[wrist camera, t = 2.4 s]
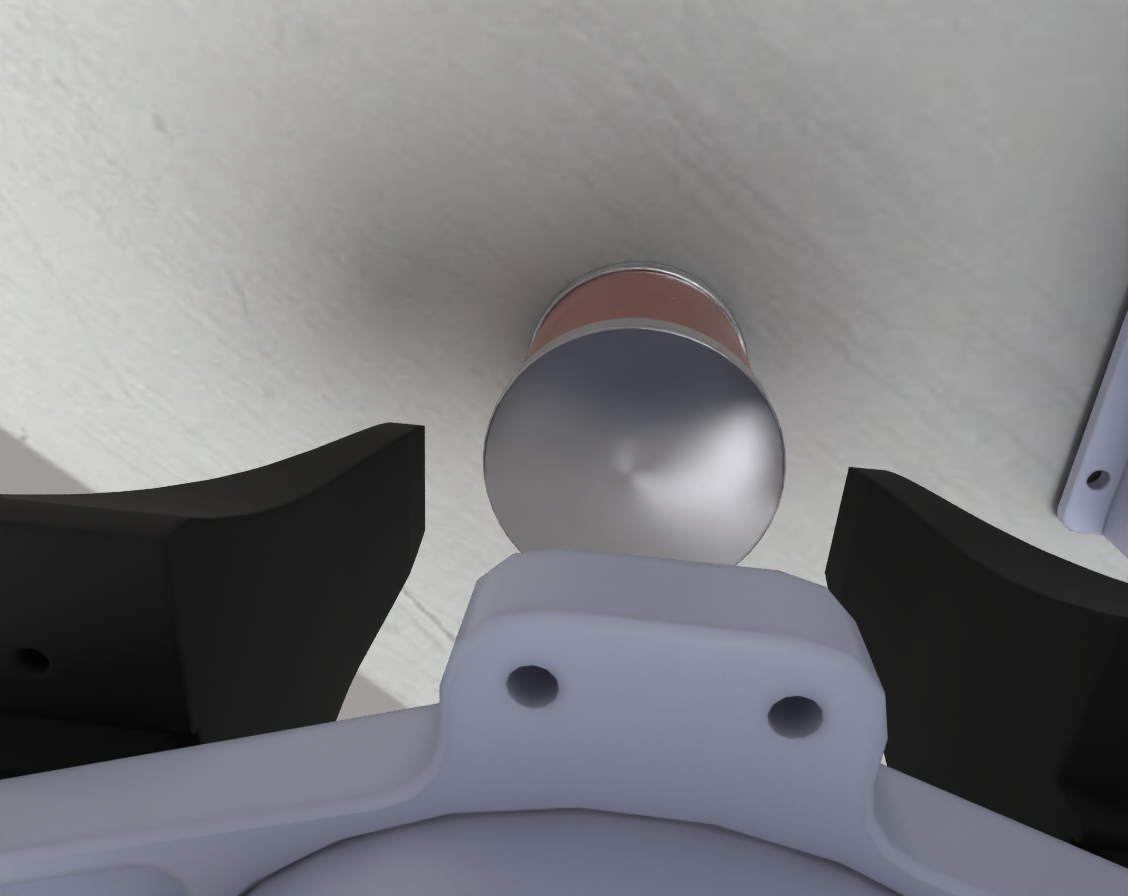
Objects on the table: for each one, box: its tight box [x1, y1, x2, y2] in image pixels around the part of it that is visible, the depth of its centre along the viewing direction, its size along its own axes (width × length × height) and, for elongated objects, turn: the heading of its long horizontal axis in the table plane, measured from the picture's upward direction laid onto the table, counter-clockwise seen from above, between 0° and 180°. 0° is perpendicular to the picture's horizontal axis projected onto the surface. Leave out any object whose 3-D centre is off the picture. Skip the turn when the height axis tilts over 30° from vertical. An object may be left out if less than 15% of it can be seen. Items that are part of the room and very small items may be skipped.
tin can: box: [483, 262, 786, 566], centre depth 17 cm, size 6×6×6 cm
